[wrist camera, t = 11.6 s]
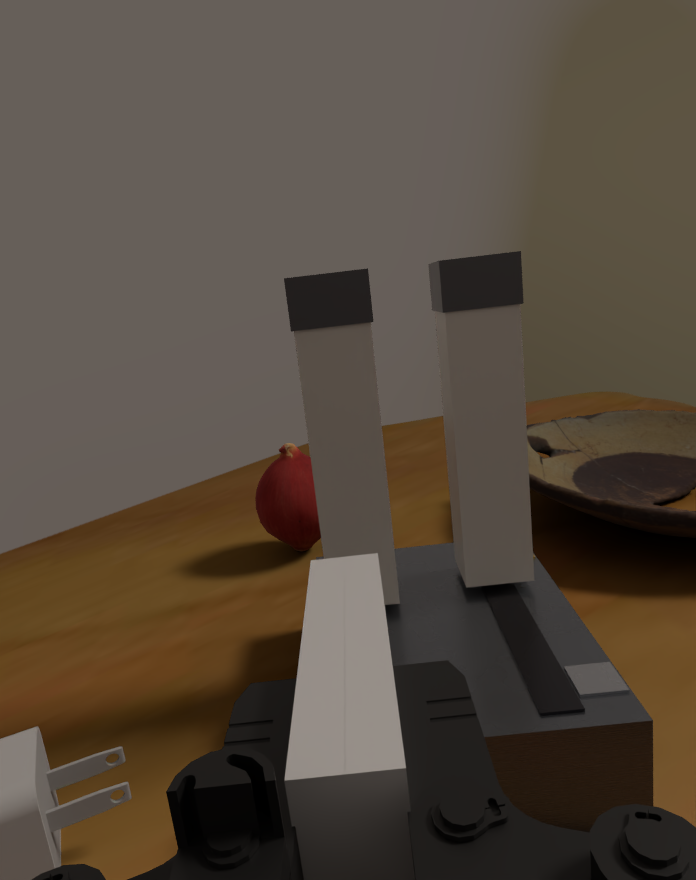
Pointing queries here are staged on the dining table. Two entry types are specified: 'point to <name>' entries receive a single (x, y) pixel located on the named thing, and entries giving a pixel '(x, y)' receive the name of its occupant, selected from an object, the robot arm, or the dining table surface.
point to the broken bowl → (619, 466)
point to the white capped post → (484, 415)
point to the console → (528, 687)
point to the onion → (289, 499)
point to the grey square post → (343, 416)
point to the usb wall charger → (43, 803)
